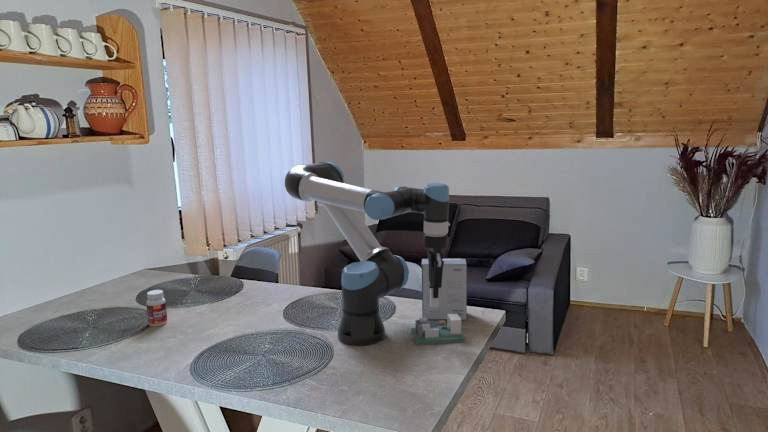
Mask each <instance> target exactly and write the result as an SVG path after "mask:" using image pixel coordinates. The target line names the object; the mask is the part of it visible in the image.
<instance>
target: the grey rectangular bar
mask: <svg viewBox="0 0 768 432" xmlns="http://www.w3.org/2000/svg"><path fill="white" fill-rule="evenodd" d="M422 324H430V327H433V326H447V325H446V324H447V323H446V320H445V319H439V320H436V321H427V322H424V323H419V322H417V323H416V325H417V327H418V325H422Z"/></svg>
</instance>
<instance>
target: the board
mask: <svg viewBox="0 0 768 432" xmlns="http://www.w3.org/2000/svg"><path fill="white" fill-rule="evenodd" d="M417 322H419V323H424V322H428V319H427V318H422V317H419V319H415V321H414V323H415V324H414V325H415V327H411V333H412V336H413V338H414V341H415V343H416V345H417V346H421V345H435V344H450V343H451V344H452V343H453V344H454V343H465V336H464V335H463V334H462V332H461V334H451V329H448V328H447V325H444V326H433V327H430V324H422V325H418V327H417V325H416V323H417Z"/></svg>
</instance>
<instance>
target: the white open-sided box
mask: <svg viewBox="0 0 768 432" xmlns="http://www.w3.org/2000/svg"><path fill="white" fill-rule="evenodd" d="M446 320H447V323H446V324H447V325H446V326H447V328H448V329H451V334H461V333H462V320H461V318H460V317H459V315H458V314H447V319H446Z"/></svg>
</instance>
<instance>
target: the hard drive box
mask: <svg viewBox="0 0 768 432" xmlns="http://www.w3.org/2000/svg"><path fill="white" fill-rule="evenodd" d="M442 261H444V265H443V273H442V287H441V288H440V293H439V307H430V288H429V286H431V285H430V282H429V266H428V258H422V259H421V307H422V308H421V312H422V314H421V315H422V317H421V318H427V320H447V314H458V315H459V317H460V318H461V321H462V320H463V321H465V320H468V315H467V312H468V311H467V304H468V302H467V300H468V299H467V298H468V297H467V295H468V294H467V293H468V292H467V291H468V289H467V287H468V282H467V280H468V274H467V273H468V264H467V260H466V258H443V259H442Z"/></svg>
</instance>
